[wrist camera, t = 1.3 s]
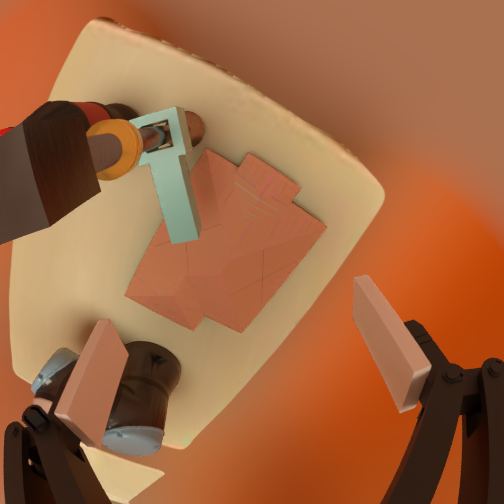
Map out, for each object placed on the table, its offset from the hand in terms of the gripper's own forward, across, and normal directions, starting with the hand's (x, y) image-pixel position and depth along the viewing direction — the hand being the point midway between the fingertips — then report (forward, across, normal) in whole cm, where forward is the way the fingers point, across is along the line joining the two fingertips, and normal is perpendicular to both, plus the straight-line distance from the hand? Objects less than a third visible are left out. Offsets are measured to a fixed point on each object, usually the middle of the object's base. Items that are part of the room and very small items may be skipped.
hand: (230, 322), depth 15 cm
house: (+36, +4, +12) cm, 38 cm away
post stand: (+35, +6, -9) cm, 37 cm away
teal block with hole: (+21, +5, -5) cm, 23 cm away
